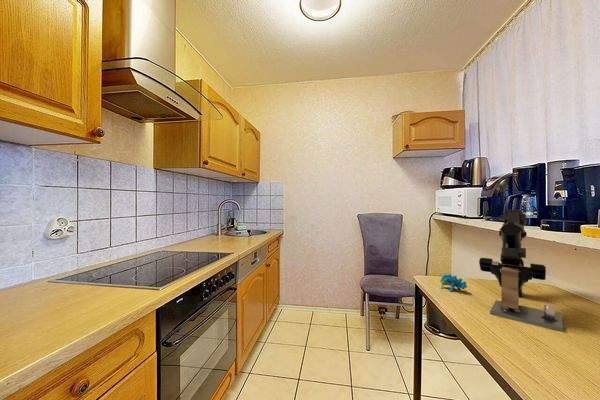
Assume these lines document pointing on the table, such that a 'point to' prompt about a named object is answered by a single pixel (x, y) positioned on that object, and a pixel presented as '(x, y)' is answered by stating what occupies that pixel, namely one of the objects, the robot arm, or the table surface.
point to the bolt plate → (530, 315)
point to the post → (510, 287)
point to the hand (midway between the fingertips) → (509, 288)
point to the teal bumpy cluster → (452, 282)
